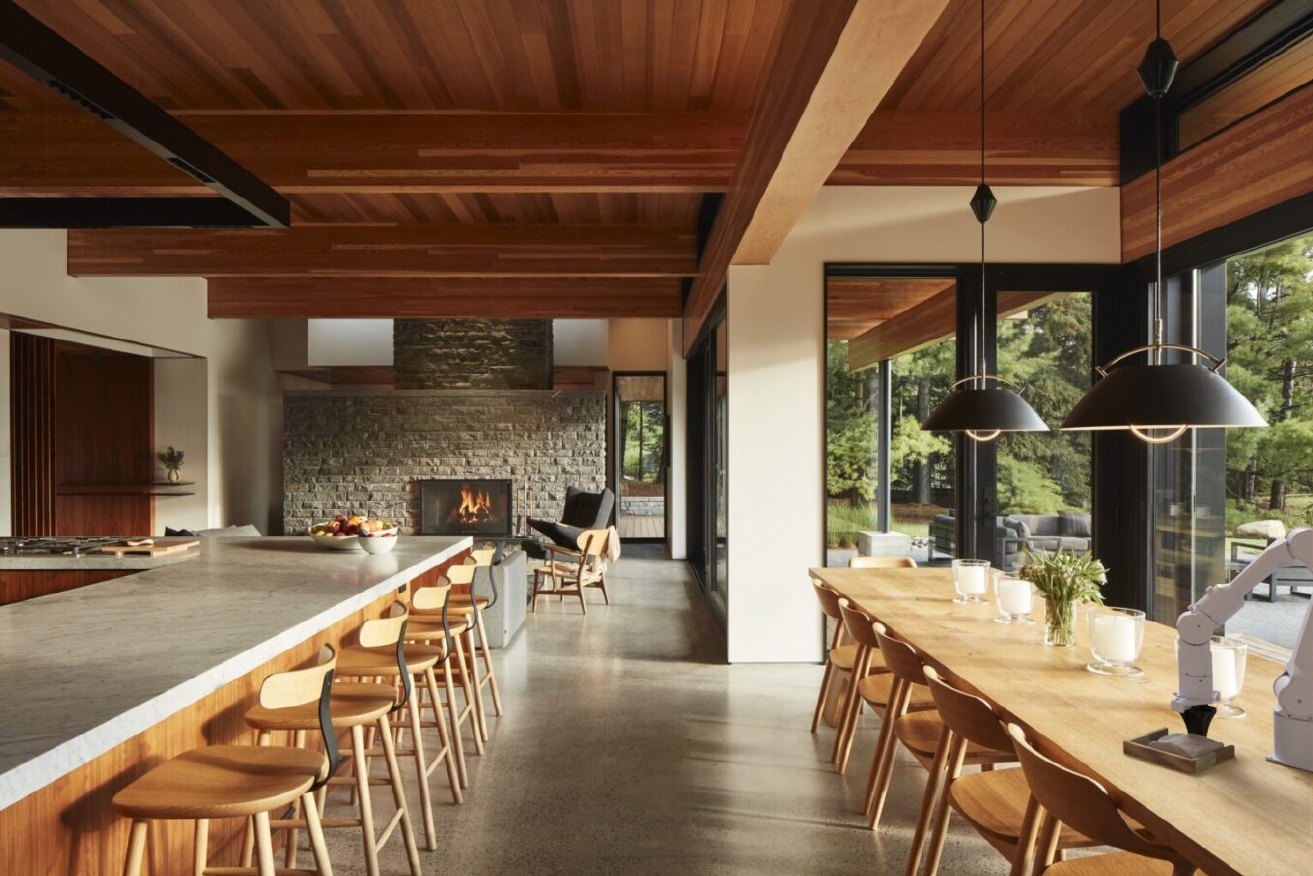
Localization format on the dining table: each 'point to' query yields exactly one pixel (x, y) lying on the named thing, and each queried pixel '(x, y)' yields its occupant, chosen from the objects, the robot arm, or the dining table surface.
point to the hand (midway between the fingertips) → (1197, 742)
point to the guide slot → (1141, 749)
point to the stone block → (1186, 745)
